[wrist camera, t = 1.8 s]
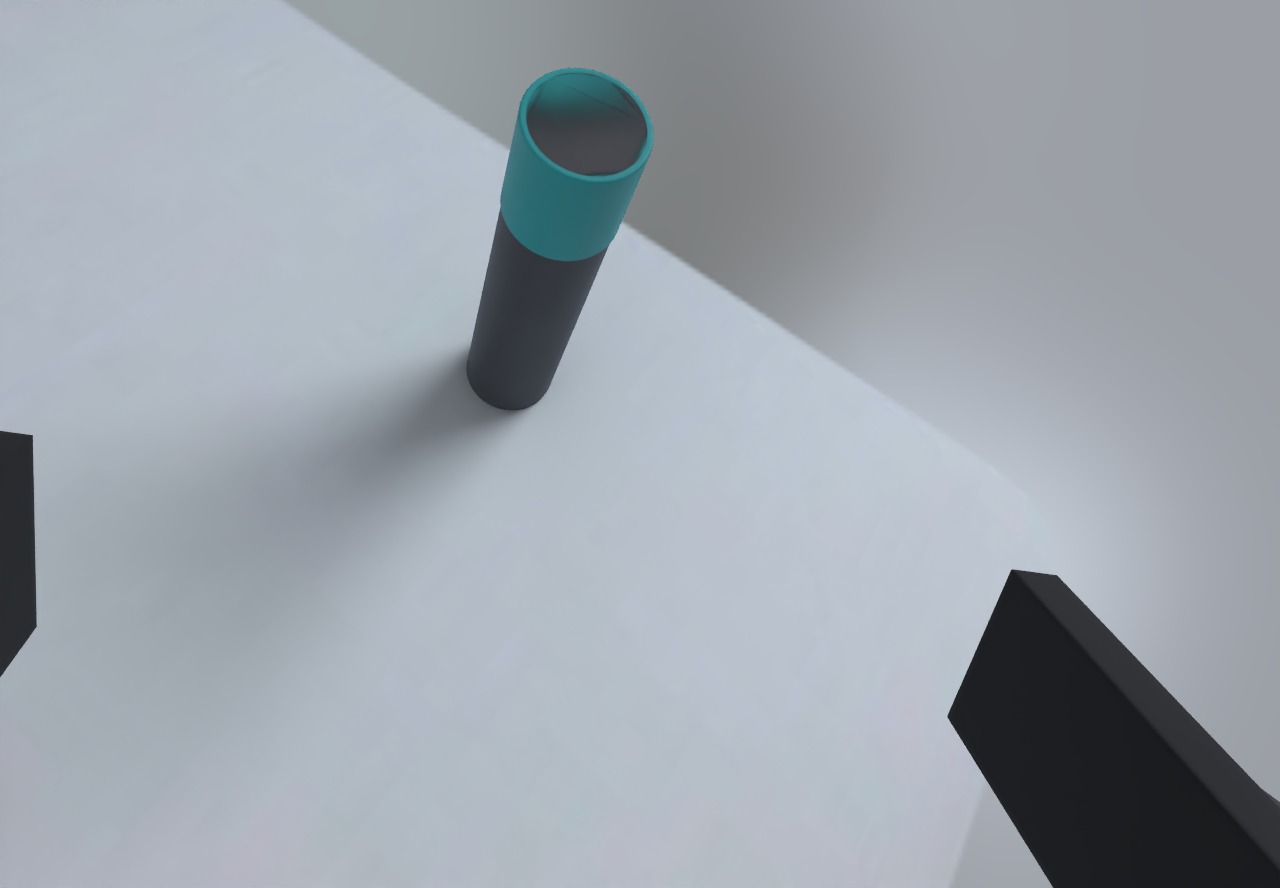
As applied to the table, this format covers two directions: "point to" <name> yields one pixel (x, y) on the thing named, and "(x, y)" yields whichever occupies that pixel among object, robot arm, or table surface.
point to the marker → (554, 226)
